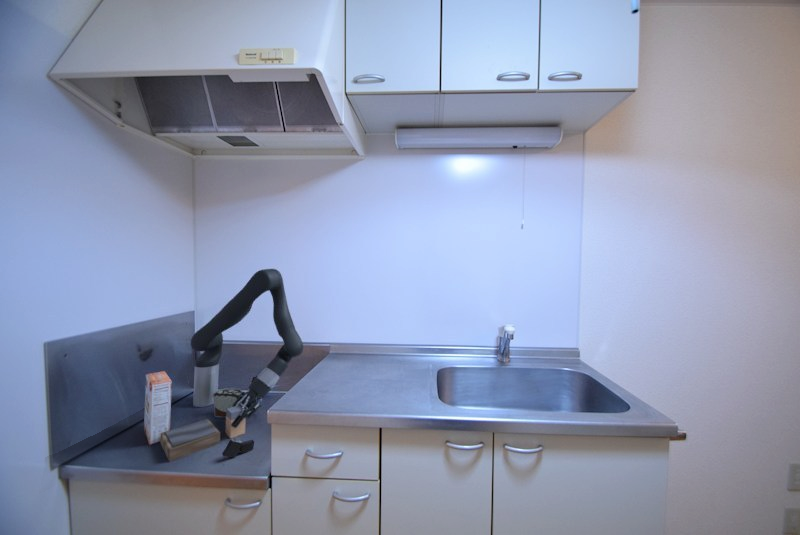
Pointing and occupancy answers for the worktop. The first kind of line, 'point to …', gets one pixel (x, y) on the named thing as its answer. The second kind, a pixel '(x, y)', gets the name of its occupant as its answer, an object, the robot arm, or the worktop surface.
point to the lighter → (237, 447)
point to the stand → (189, 439)
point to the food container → (225, 400)
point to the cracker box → (157, 406)
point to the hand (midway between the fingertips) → (230, 423)
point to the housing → (230, 417)
